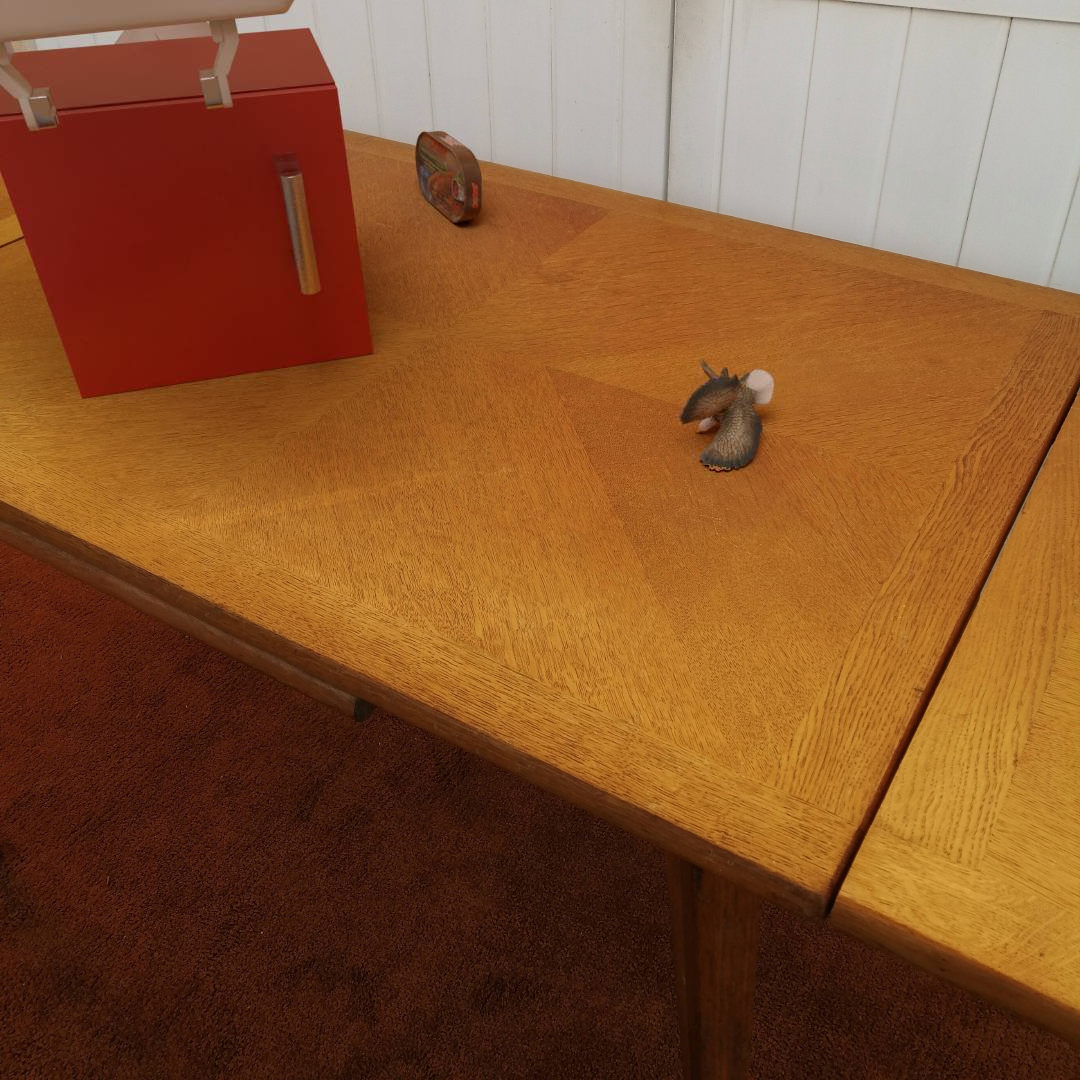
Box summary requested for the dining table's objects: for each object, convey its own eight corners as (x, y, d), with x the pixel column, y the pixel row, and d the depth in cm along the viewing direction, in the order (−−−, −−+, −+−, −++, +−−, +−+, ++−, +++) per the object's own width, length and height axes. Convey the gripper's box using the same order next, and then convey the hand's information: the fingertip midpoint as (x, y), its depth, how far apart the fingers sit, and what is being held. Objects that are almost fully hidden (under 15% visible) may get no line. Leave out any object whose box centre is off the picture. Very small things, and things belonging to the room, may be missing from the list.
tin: (415, 191, 127) (409, 122, 121) (438, 186, 128) (433, 118, 123) (464, 234, 117) (459, 161, 111) (488, 229, 118) (485, 156, 112)
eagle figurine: (671, 393, 88) (655, 432, 80) (724, 332, 84) (713, 367, 76) (738, 446, 88) (728, 490, 81) (793, 388, 85) (789, 428, 77)
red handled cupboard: (382, 382, 92) (347, 108, 76) (78, 430, 86) (-28, 146, 70) (371, 348, 96) (335, 84, 81) (82, 393, 91) (-16, 118, 75)
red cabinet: (371, 348, 97) (335, 81, 81) (83, 393, 91) (-17, 115, 75) (345, 270, 110) (309, 27, 94) (92, 304, 104) (8, 52, 88)
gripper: (265, -205, 52) (313, 79, 60) (-171, -180, 47) (-51, 121, 56) (276, -196, 47) (326, 110, 56) (-205, -168, 43) (-69, 158, 52)
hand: (134, 116), depth 56 cm, fingers open, 8 cm apart
